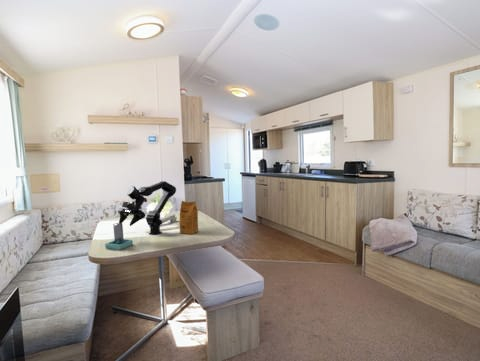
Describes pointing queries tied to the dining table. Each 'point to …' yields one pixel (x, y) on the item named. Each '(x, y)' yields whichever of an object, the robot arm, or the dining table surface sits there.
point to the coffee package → (188, 218)
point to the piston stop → (118, 233)
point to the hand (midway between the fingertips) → (124, 224)
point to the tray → (118, 247)
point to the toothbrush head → (171, 218)
